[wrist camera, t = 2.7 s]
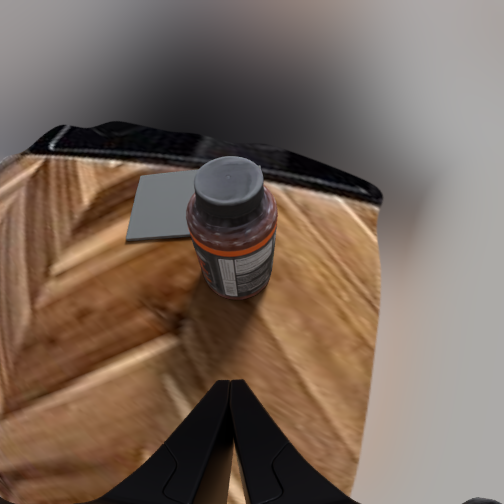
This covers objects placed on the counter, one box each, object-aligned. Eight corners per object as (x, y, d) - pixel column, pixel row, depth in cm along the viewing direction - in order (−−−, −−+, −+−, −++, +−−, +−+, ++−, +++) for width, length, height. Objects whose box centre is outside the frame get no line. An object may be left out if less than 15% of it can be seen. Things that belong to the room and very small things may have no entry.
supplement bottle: (196, 253, 27) (168, 158, 17) (257, 235, 28) (258, 136, 18) (214, 312, 24) (187, 230, 14) (282, 289, 25) (298, 199, 15)
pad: (267, 231, 28) (267, 229, 28) (127, 241, 28) (125, 238, 27) (260, 168, 33) (260, 165, 32) (141, 178, 32) (140, 175, 32)
